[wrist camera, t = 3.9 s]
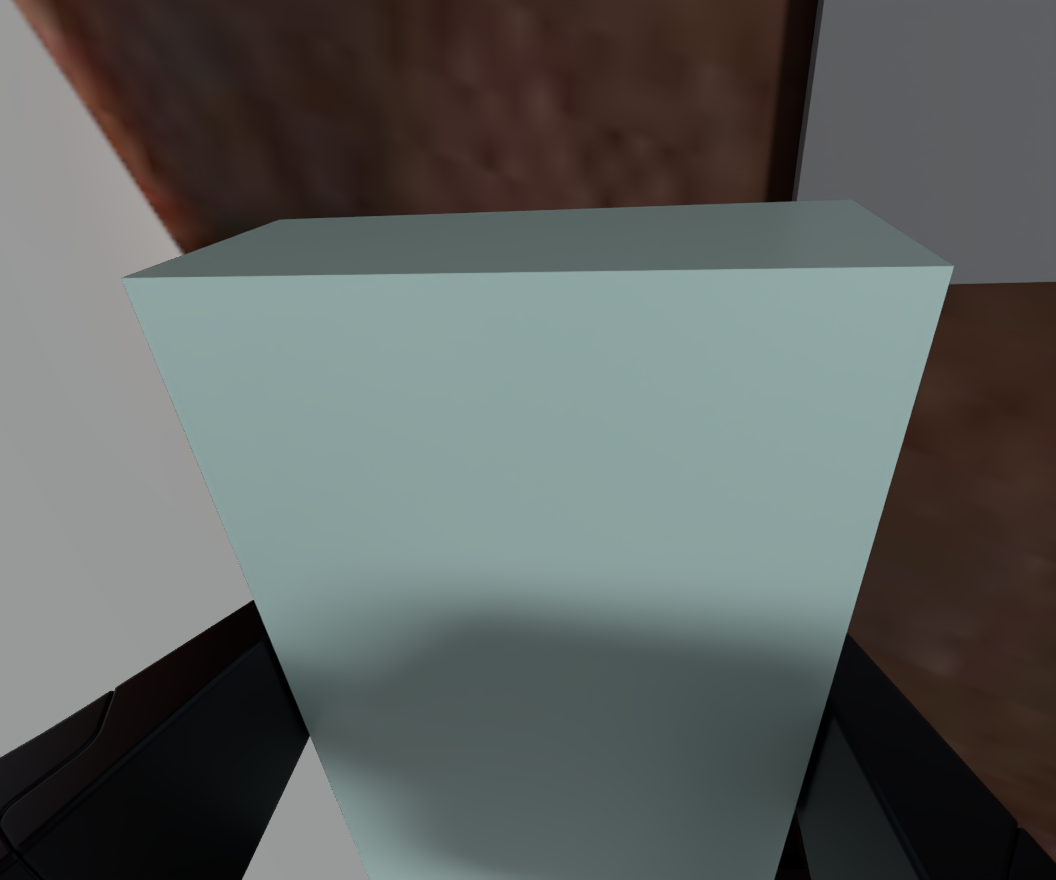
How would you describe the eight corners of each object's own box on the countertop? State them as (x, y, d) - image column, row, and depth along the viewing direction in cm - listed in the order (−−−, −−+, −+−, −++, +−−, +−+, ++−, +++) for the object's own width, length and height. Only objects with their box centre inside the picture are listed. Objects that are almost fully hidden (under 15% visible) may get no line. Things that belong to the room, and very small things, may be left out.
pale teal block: (735, 794, 12) (750, 958, 10) (419, 745, 13) (369, 879, 11) (852, 199, 6) (953, 266, 4) (279, 219, 7) (121, 277, 5)
